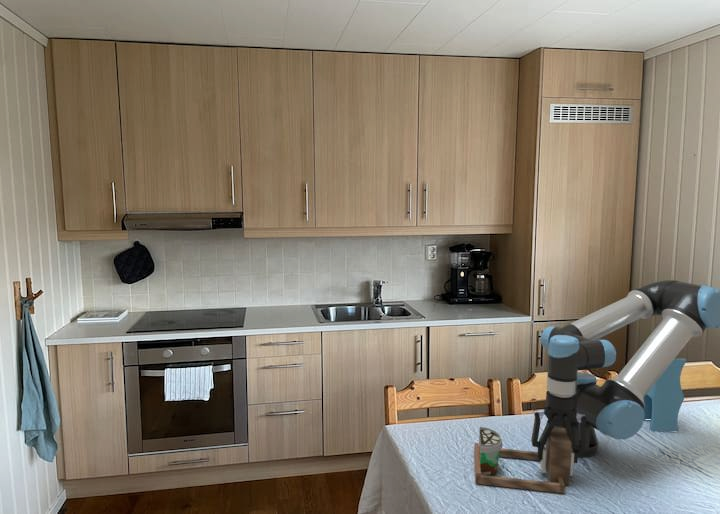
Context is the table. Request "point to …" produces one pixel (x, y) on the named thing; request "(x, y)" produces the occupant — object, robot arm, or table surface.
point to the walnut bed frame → (555, 459)
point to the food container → (489, 451)
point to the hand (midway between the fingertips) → (556, 471)
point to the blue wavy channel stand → (665, 399)
